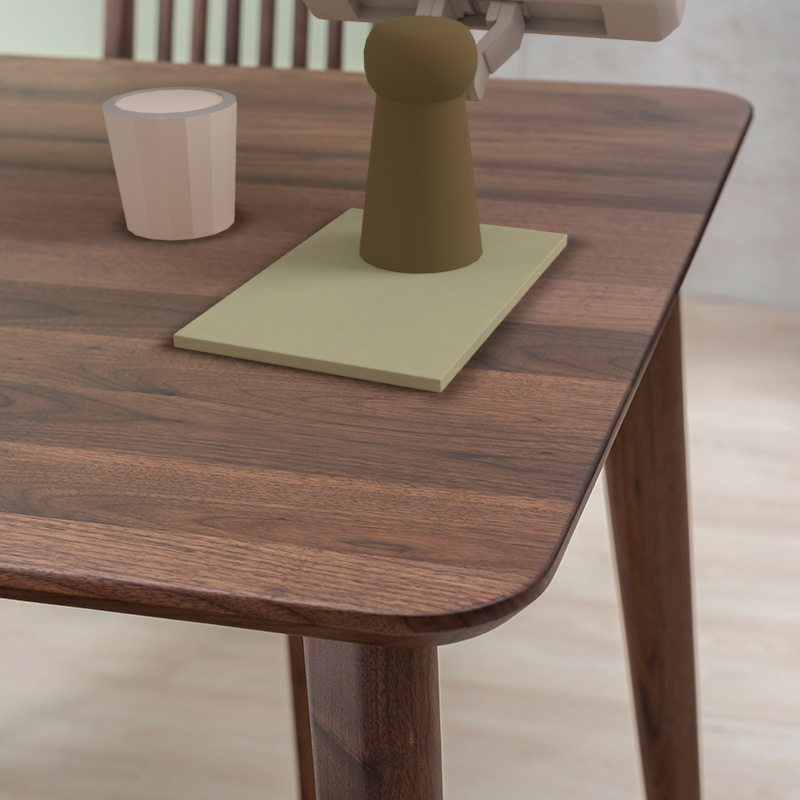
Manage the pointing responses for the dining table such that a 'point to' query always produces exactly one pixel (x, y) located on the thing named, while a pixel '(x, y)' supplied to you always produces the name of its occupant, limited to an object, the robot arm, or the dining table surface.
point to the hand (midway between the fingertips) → (449, 93)
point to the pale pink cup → (174, 160)
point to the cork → (420, 148)
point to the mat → (373, 308)
